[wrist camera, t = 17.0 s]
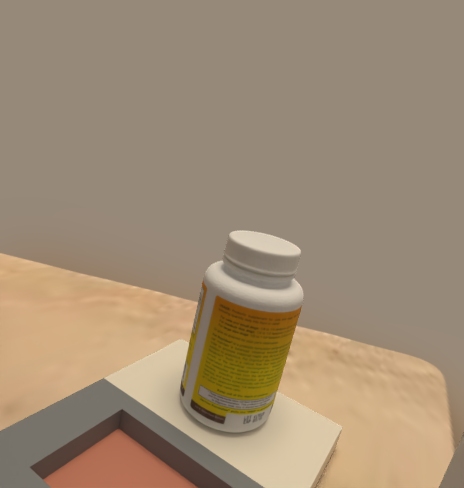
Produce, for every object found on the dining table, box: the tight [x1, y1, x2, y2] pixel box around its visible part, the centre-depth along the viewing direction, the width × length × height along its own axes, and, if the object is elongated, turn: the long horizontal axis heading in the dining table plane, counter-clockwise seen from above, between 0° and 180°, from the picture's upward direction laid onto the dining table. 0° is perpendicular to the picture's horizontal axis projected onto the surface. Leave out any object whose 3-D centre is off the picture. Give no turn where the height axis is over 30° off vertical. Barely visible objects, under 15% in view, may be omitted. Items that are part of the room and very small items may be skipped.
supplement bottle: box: [180, 231, 304, 432], centre depth 21 cm, size 5×5×10 cm
